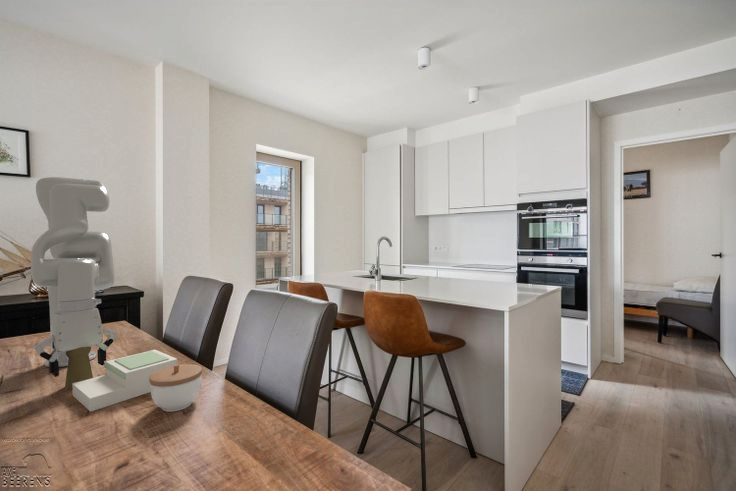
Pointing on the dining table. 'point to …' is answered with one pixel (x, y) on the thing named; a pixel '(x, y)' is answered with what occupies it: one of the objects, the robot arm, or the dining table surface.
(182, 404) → the lidded jar
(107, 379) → the platform
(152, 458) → the dining table surface
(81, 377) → the cork
